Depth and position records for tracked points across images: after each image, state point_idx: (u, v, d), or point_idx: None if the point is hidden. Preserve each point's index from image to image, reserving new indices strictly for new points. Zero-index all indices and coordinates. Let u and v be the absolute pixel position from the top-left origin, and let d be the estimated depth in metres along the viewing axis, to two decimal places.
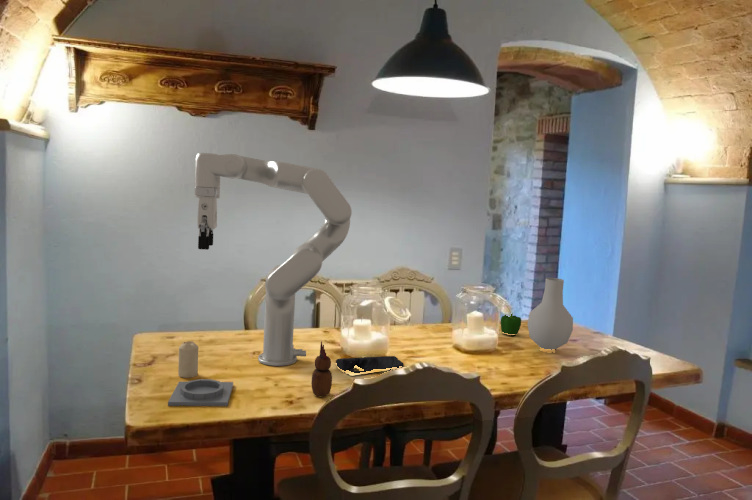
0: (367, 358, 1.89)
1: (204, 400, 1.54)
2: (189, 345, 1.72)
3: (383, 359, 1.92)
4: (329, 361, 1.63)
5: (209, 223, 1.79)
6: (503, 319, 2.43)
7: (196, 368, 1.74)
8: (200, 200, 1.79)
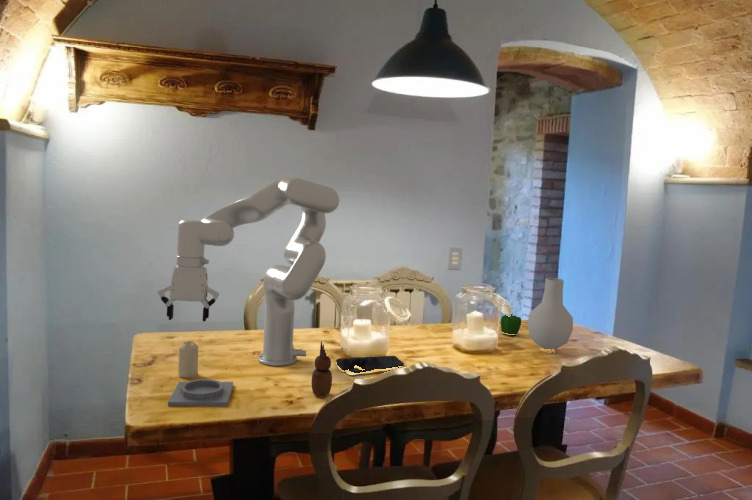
0: (367, 358, 1.89)
1: (204, 400, 1.54)
2: (189, 345, 1.72)
3: (383, 358, 1.93)
4: (329, 361, 1.63)
5: (207, 292, 1.74)
6: (503, 319, 2.43)
7: (196, 368, 1.74)
8: (204, 271, 1.70)
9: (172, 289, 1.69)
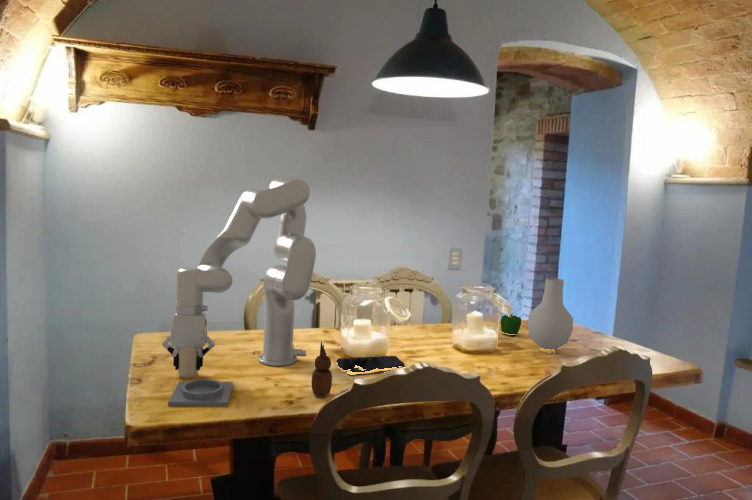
0: (368, 358, 1.89)
1: (204, 400, 1.54)
2: None
3: (383, 358, 1.93)
4: (329, 361, 1.63)
5: (205, 341, 1.76)
6: (503, 319, 2.43)
7: (196, 368, 1.74)
8: (203, 318, 1.72)
9: (172, 337, 1.71)
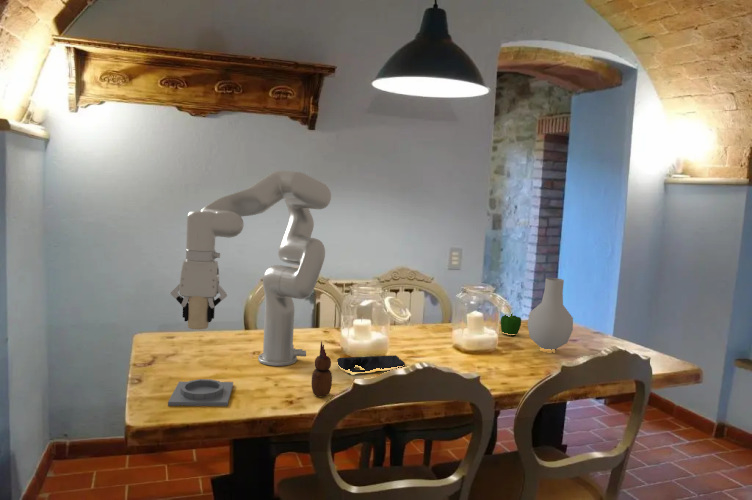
0: (368, 357, 1.90)
1: (204, 400, 1.54)
2: None
3: (384, 358, 1.93)
4: (329, 361, 1.63)
5: (217, 292, 1.63)
6: (503, 319, 2.43)
7: (207, 320, 1.62)
8: (215, 265, 1.59)
9: (181, 285, 1.59)
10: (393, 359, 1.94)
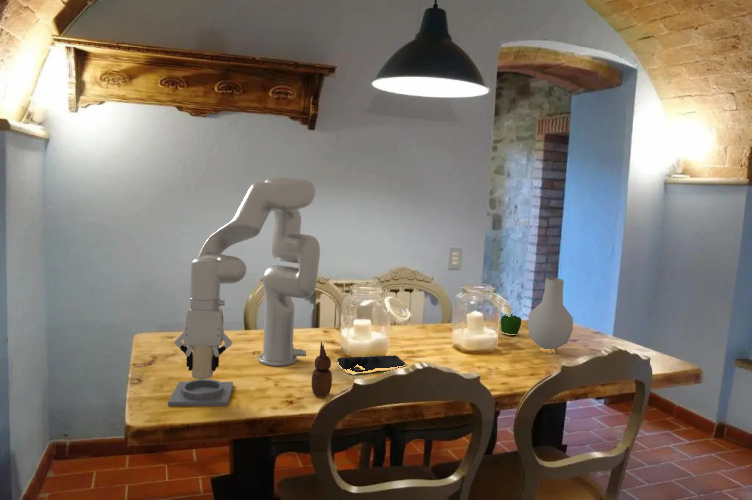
0: (368, 357, 1.90)
1: (204, 400, 1.54)
2: None
3: (384, 358, 1.93)
4: (329, 361, 1.63)
5: (221, 339, 1.60)
6: (503, 319, 2.43)
7: (211, 369, 1.58)
8: (220, 314, 1.56)
9: (185, 334, 1.55)
10: (393, 359, 1.94)
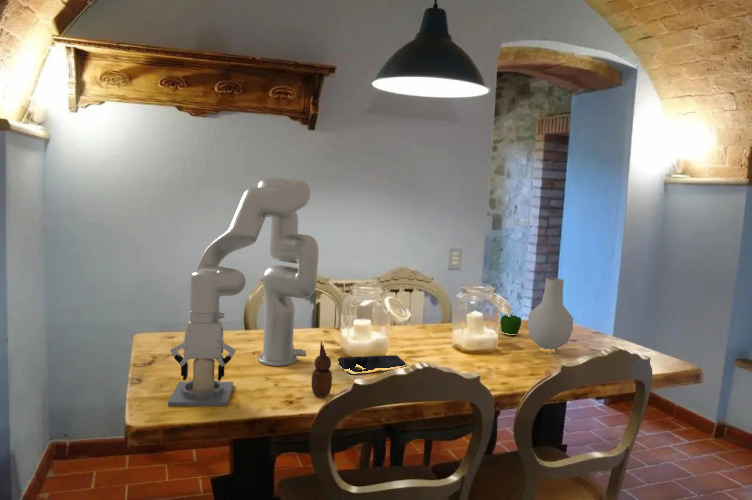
0: (369, 357, 1.90)
1: (204, 400, 1.54)
2: (205, 359, 1.57)
3: (385, 358, 1.93)
4: (329, 361, 1.63)
5: (223, 348, 1.61)
6: (503, 319, 2.43)
7: (212, 384, 1.59)
8: (219, 326, 1.57)
9: (185, 347, 1.56)
10: (394, 359, 1.94)
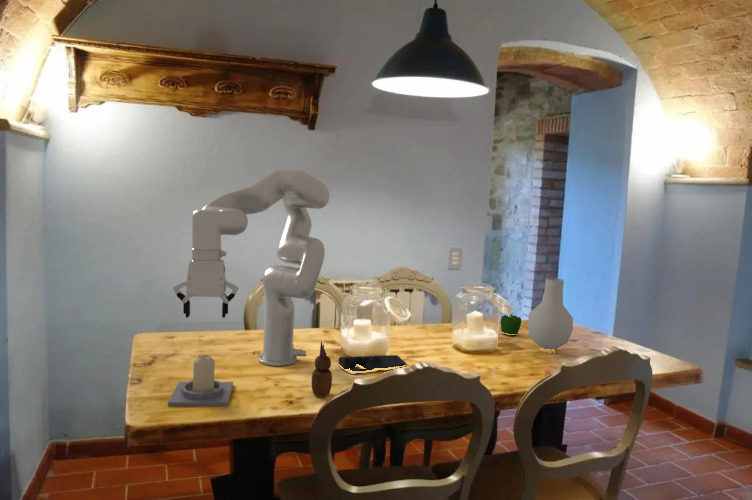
0: (369, 357, 1.90)
1: (204, 400, 1.54)
2: (205, 359, 1.57)
3: (385, 357, 1.93)
4: (329, 361, 1.63)
5: (225, 286, 1.62)
6: (503, 319, 2.43)
7: (212, 384, 1.59)
8: (222, 264, 1.58)
9: (188, 284, 1.57)
10: (394, 359, 1.94)
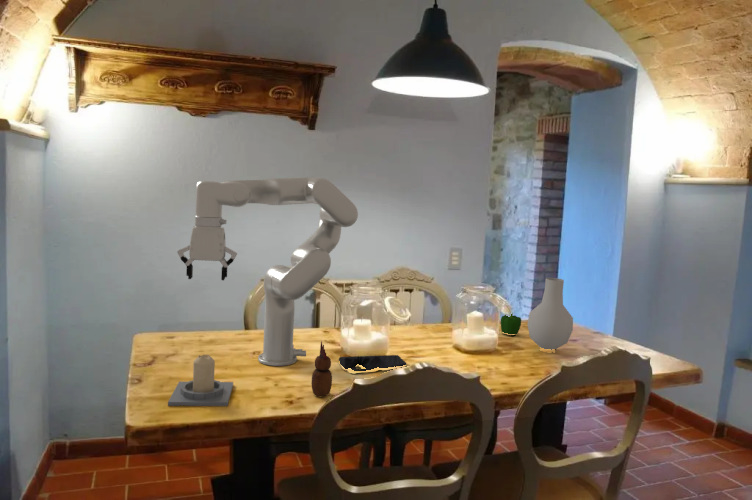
0: (369, 357, 1.91)
1: (204, 400, 1.54)
2: (205, 359, 1.57)
3: (385, 357, 1.94)
4: (329, 361, 1.63)
5: (225, 252, 1.78)
6: (503, 319, 2.43)
7: (212, 384, 1.59)
8: (222, 231, 1.74)
9: (191, 249, 1.73)
10: (394, 359, 1.94)
